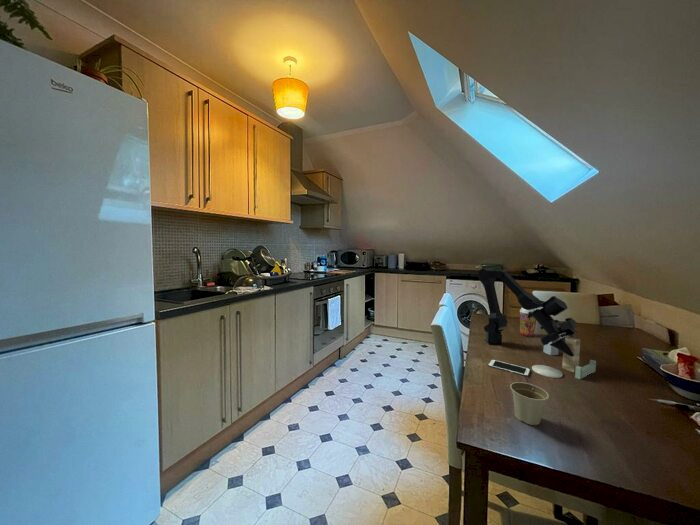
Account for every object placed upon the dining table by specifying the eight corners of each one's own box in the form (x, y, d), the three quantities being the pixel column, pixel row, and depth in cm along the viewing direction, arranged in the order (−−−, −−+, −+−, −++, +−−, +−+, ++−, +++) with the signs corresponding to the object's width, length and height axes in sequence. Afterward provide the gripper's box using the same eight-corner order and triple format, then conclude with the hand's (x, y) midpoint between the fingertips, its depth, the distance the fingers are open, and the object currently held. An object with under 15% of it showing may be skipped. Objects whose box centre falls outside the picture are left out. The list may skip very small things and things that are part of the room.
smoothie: (514, 333, 155) (516, 299, 154) (528, 332, 156) (529, 299, 155) (525, 338, 147) (527, 302, 146) (539, 337, 148) (541, 302, 146)
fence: (575, 377, 103) (575, 366, 102) (590, 370, 109) (591, 359, 109) (579, 379, 101) (580, 368, 101) (595, 371, 108) (596, 361, 107)
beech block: (562, 368, 110) (563, 337, 110) (566, 366, 112) (568, 336, 111) (573, 372, 107) (575, 340, 106) (578, 370, 109) (580, 339, 108)
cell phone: (491, 360, 118) (491, 358, 118) (530, 371, 108) (531, 368, 108) (486, 367, 112) (486, 364, 112) (528, 378, 103) (528, 375, 102)
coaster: (540, 376, 103) (540, 375, 103) (527, 365, 113) (527, 364, 113) (568, 378, 102) (568, 377, 101) (552, 367, 111) (552, 365, 111)
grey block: (550, 355, 124) (551, 344, 124) (543, 351, 128) (543, 341, 127) (558, 354, 124) (558, 344, 124) (550, 351, 128) (551, 341, 128)
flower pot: (555, 426, 75) (557, 396, 74) (530, 432, 72) (531, 402, 71) (525, 406, 84) (526, 380, 83) (501, 411, 81) (502, 384, 80)
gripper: (550, 314, 107) (583, 350, 98) (573, 309, 116) (604, 342, 107) (529, 328, 115) (557, 362, 106) (551, 322, 123) (579, 354, 114)
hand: (575, 355), depth 108 cm, fingers closed on beech block, 4 cm apart
